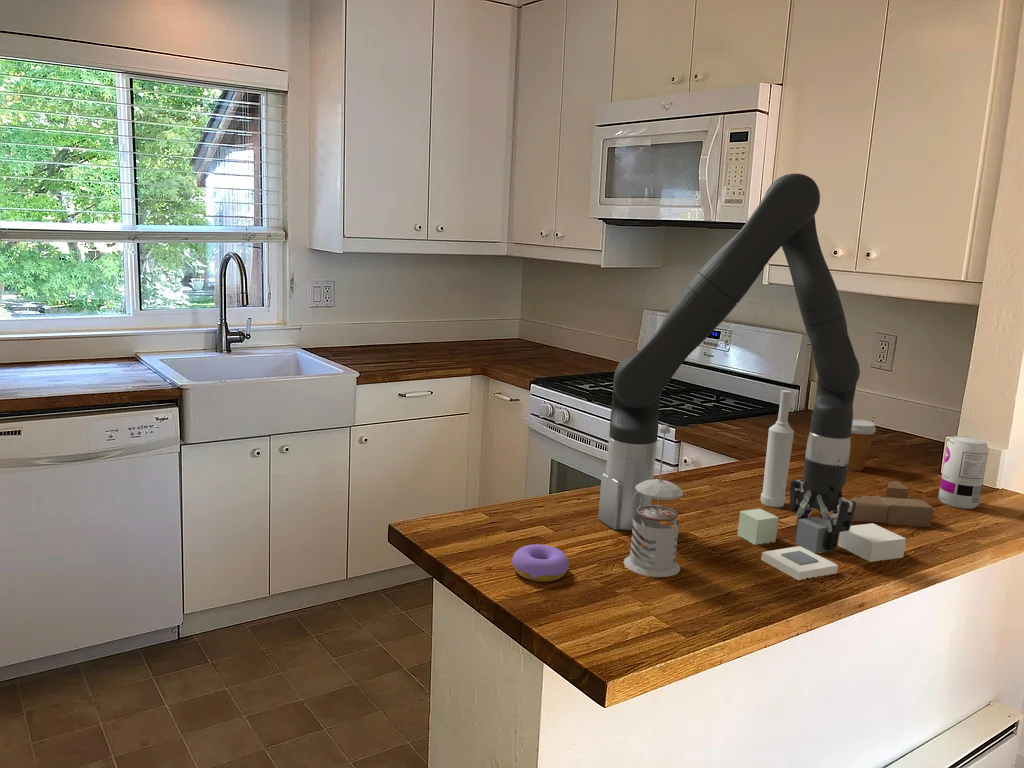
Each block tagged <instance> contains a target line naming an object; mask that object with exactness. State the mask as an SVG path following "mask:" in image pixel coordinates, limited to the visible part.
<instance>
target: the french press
mask: <svg viewBox="0 0 1024 768" xmlns="http://www.w3.org/2000/svg"><path fill="white" fill-rule="evenodd" d="M658 433H661V434H663V437H662V438H663V439H662V449H661V450H662V451H661V456H660V457H661V458H660V469H659V470H660V471H659V479H658V478H655V479H654V478H653V480H646V481H644V482H641V483H639V484H638V485H636V487H635V489H636V490H637V492H636V493H635V494H634V496H633V498H632V505H631V514H632V520H633V529H632V530H631V531H632V535H631V542H630V546H631V547H630V552H629V553H630V554H629V555H628V556H627V557H626V558H624V560H623V565H624V566H625V568H627V569H628V570H629V571H631V572H633V573H636V574H639V575H642V576H646V577H653V578H664V577H665V578H667V577H671V576H676V575H677V574H678V573H679V572H681V565H679V563H678V562H677V561H676V557H677V546H678V537H679V529H680V527H679V526H680V525H679V524H680V523H679V522H680V521H678V519H677V518H678V516H679V514H678V512H677V511H676V510H675V509H672V508H671V507H667V506H663V505H661V504H660V505H659V501H660V500H662V501H663V500H664V501H671V500H672V501H673V500H677V499H679V498H682V496H683V495H684V491H683V490H682V489H681V487H679V486H678V485H677V484H676V483H673V482H671V481H668V480H664V479H662V471H663V460H664V459H663V458H664V451H665V439H666V434H667V435H668V434H670V433H671V428H670V427H669V426H668V425H665V424H664V425H661V426H660V427H658ZM638 492H639V493H640V494H641V498H640V503H639V507H638V508H637V509H636V513H637V515H635V516H634V519H633V500H634V497H635V495H636V494H637V493H638ZM643 495H644V496H646V497H643ZM648 497H650V498H652V499H653V500H656V504H651V505H643V506H641V499H642V498H643V499H644V498H648ZM642 517H643V518H645V525H644V523H643V521H642ZM641 522H642V525H641ZM662 522H663V523H664V522H665V523H666V522H669V523H671V524H672V525H674V527H673V526H671V525H669V524H660V523H662ZM641 537H642V538H643V539H641ZM641 545H642V546H641Z"/></svg>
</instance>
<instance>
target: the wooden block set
mask: <svg viewBox="0 0 1024 768" xmlns="http://www.w3.org/2000/svg"><path fill="white" fill-rule="evenodd" d="M909 490H910V489H909V488H908V487H907V486H905V485H904V484H903V483H902V482H901V481H898V480H894V481H889V482H888V485H887V487H886V491H885V496H872V495H871V496H869V495H863V496H860V497H856V496H855V497H851V498H849V499H847V500H848V501H855V503H856V507H855V511H854V514H853V518H852V522H862V523H863V522H864V523H874V524H877V523H878V524H886V525H896V526H897V525H899V526H913V527H915V526H916V527H930V528H931V527H932V526H931V525H932V518H933V512H934V507H933V506H931V505H930V504H929V503H927V502H926V501H925V500H921V499H918V498H908V497H909Z"/></svg>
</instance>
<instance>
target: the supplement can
mask: <svg viewBox="0 0 1024 768" xmlns="http://www.w3.org/2000/svg"><path fill="white" fill-rule="evenodd" d="M989 452H990V449H989V447H988V444H987V441H986V440H984V439H982V438H979V437H975V436H968V435H951V438H950V439H949V440H948V441H947V442H946V449H945V454H944V462H943V466H942V472H941V478H940V483H939V485H940V486H939V492H938V496H937V497H938V499H939V500H940V502H941V503H942V504H943V505H947V506H950V507H953V508H958V509H965V510H966V509H967V510H972V509H975V508H977V507H978V506H980V504H981V497H982V490H983V485H984V480H985V473H986V470H987V463H988V456H989Z"/></svg>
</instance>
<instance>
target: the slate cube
mask: <svg viewBox="0 0 1024 768" xmlns="http://www.w3.org/2000/svg"><path fill="white" fill-rule="evenodd" d="M833 525H834V523H833ZM796 527H797V532H796V534H795V535H796V536H795V541H794V542H795V543H794V545H796V544H797V545H796V546H798V545H799V546H801V547H803V548H805V549H807V550H809V551H811V552H814V553H817V554H820V553H819V552H823V553H827V552H826V551H827V550H825V549H824V542H825V534H826V531H828V530H827V526H826V522H825V520H824V519H823V518H822V517H820V516H813V517H812V516H810V517H809V518H804V519H798V525H797V524H796ZM834 550H836V548H835V549H834ZM829 552H834V551H833V550H830V551H829Z"/></svg>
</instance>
